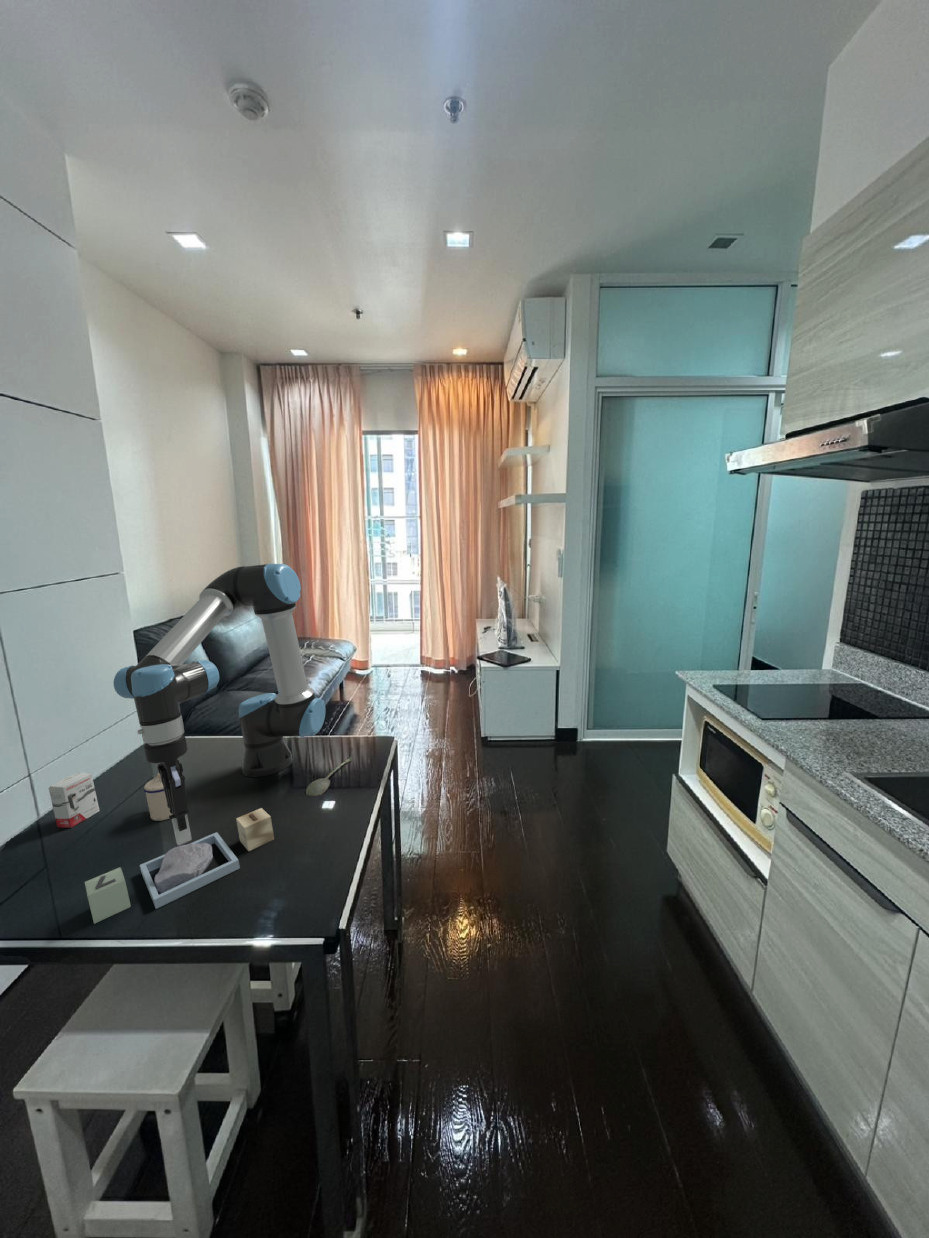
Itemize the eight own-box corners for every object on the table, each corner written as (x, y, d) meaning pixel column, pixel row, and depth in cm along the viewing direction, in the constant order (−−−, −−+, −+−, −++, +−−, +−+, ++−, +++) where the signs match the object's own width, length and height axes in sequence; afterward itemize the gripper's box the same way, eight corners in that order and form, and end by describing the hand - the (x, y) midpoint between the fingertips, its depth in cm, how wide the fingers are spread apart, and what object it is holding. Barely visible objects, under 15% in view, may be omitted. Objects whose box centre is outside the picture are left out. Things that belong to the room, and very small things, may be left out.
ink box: (71, 828, 131) (61, 787, 129) (56, 827, 132) (46, 787, 130) (101, 810, 139) (92, 771, 137) (87, 810, 140) (78, 771, 138)
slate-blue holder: (218, 839, 119) (216, 831, 119) (240, 868, 107) (238, 859, 107) (141, 873, 109) (139, 864, 108) (155, 908, 97) (154, 899, 96)
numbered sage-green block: (126, 892, 103) (120, 865, 102) (130, 906, 98) (124, 879, 97) (90, 908, 99) (84, 881, 98) (94, 924, 94) (87, 895, 93)
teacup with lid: (195, 806, 136) (187, 767, 134) (162, 824, 128) (154, 783, 127) (169, 799, 142) (161, 761, 140) (136, 816, 134) (128, 776, 132)
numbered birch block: (265, 830, 122) (261, 807, 121) (274, 839, 117) (270, 815, 116) (240, 841, 118) (235, 817, 117) (248, 851, 113) (244, 826, 112)
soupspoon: (301, 799, 138) (321, 801, 136) (299, 788, 137) (320, 790, 135) (341, 761, 158) (360, 762, 156) (340, 751, 157) (359, 753, 156)
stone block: (215, 858, 115) (166, 862, 112) (216, 839, 114) (167, 842, 111) (206, 893, 104) (151, 898, 101) (206, 872, 103) (152, 877, 100)
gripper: (138, 737, 105) (158, 837, 109) (149, 753, 96) (171, 862, 99) (177, 726, 110) (195, 822, 114) (192, 740, 101) (211, 845, 104)
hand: (184, 841), depth 107 cm, fingers closed
